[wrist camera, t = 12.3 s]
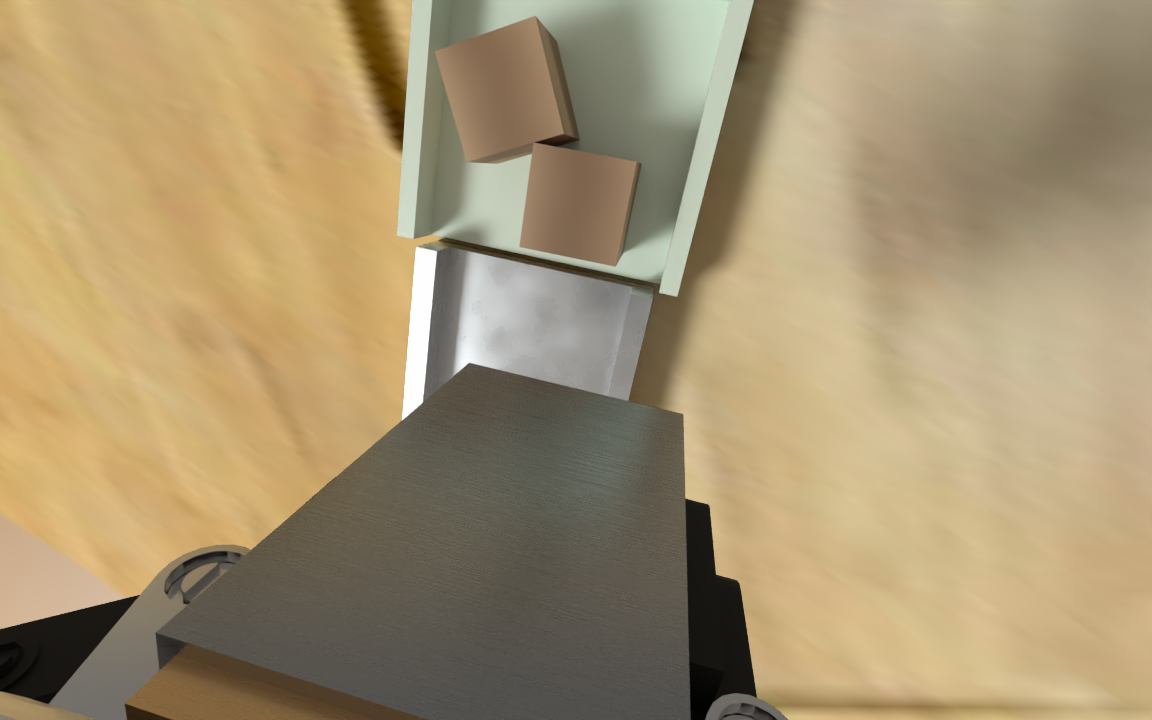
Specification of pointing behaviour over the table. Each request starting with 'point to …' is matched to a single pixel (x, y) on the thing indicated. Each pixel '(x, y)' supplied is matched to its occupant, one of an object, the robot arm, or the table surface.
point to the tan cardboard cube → (578, 204)
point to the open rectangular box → (520, 322)
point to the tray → (581, 120)
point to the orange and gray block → (459, 575)
